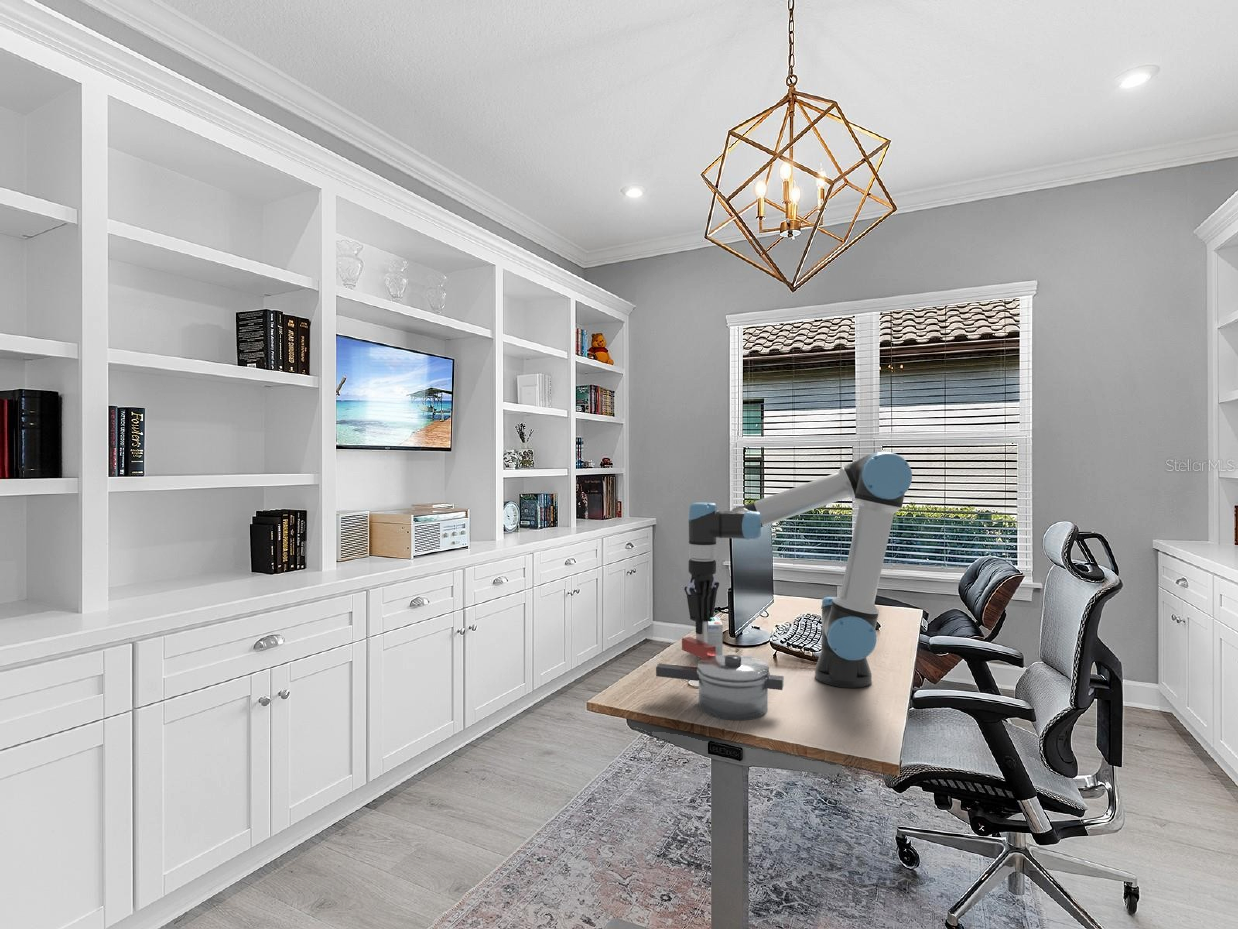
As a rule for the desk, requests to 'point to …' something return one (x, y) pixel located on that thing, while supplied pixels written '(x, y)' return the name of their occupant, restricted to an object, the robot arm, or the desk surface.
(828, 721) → the desk surface
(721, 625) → the light bulb box
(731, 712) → the cooker pot
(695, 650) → the lid
